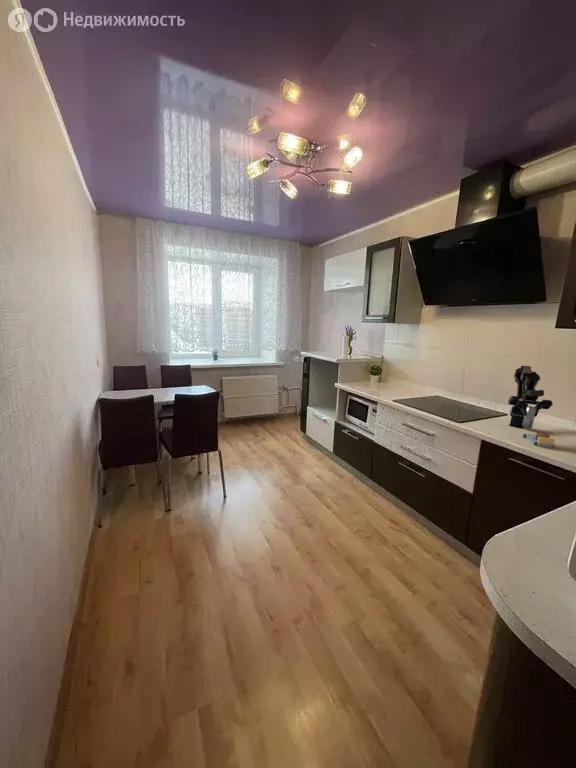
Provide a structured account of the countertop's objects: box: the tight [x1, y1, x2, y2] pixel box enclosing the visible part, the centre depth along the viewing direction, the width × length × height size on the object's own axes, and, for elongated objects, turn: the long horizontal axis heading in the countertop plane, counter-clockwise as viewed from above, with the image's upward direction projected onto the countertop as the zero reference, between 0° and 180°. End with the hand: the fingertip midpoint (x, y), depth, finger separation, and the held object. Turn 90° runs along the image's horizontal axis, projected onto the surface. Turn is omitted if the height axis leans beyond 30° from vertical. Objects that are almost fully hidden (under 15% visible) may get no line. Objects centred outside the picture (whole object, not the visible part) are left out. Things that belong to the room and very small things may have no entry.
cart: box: [522, 432, 556, 449], centre depth 170 cm, size 14×9×5 cm, turn 169°
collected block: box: [535, 431, 551, 441], centre depth 166 cm, size 4×4×4 cm
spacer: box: [522, 405, 537, 429], centre depth 171 cm, size 4×4×11 cm
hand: (530, 415), depth 170 cm, fingers closed on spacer, 4 cm apart
